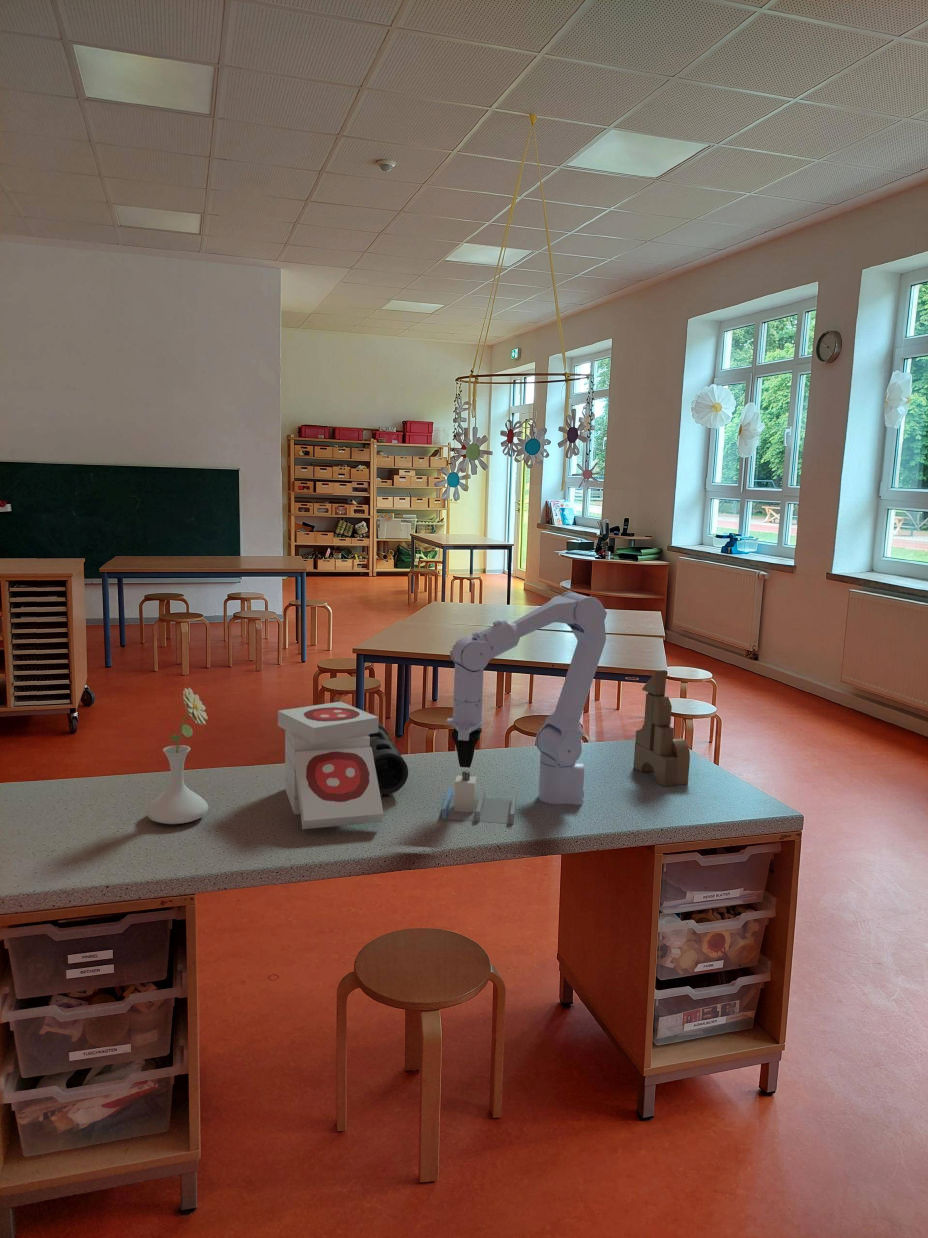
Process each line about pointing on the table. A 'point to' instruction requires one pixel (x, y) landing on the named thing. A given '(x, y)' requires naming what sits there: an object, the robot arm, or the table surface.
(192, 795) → the flower in vase
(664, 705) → the wooden toy
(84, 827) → the table surface
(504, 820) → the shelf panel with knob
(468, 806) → the plug
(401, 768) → the muzzle brake
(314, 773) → the pizza boxes
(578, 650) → the robot arm
